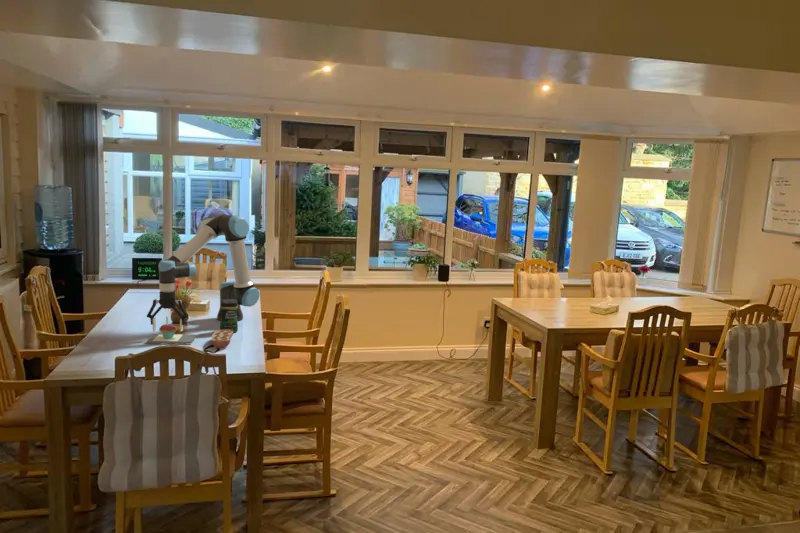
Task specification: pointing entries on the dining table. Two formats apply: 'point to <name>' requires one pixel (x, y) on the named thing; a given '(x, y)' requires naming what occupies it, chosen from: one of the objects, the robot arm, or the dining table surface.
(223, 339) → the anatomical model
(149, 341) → the board
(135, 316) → the dining table surface
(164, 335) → the cupcake
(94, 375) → the dining table surface
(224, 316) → the coffee jar
